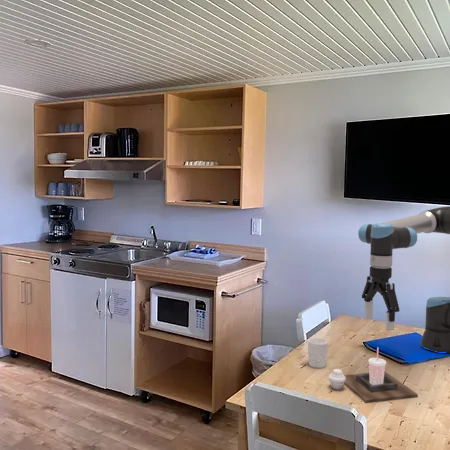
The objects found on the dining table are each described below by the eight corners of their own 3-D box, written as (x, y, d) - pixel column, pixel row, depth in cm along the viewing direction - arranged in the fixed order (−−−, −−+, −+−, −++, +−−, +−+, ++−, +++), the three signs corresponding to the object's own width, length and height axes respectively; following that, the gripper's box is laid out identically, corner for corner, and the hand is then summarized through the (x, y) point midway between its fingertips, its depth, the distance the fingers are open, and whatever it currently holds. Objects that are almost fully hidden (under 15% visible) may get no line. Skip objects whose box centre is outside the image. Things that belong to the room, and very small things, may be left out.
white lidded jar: (342, 392, 164) (343, 373, 163) (325, 388, 167) (326, 369, 167) (347, 386, 169) (348, 367, 169) (331, 382, 173) (332, 364, 172)
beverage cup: (376, 389, 164) (377, 351, 163) (363, 383, 170) (365, 345, 169) (388, 386, 167) (390, 348, 166) (376, 379, 173) (377, 343, 171)
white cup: (328, 362, 192) (328, 339, 191) (325, 369, 184) (326, 345, 183) (308, 360, 194) (309, 336, 193) (305, 367, 187) (306, 342, 186)
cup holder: (384, 373, 181) (385, 366, 181) (417, 396, 161) (417, 388, 161) (337, 378, 176) (338, 370, 176) (365, 402, 157) (366, 394, 156)
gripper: (353, 261, 178) (352, 315, 180) (392, 273, 154) (390, 336, 156) (371, 260, 180) (369, 313, 182) (411, 272, 156) (409, 334, 158)
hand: (378, 324), depth 169 cm, fingers open, 13 cm apart
